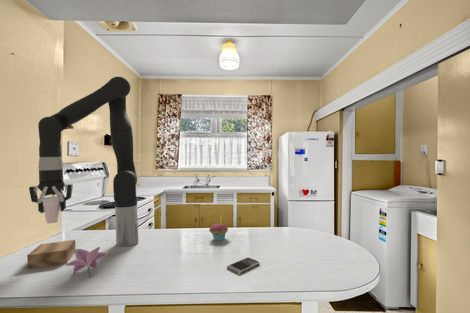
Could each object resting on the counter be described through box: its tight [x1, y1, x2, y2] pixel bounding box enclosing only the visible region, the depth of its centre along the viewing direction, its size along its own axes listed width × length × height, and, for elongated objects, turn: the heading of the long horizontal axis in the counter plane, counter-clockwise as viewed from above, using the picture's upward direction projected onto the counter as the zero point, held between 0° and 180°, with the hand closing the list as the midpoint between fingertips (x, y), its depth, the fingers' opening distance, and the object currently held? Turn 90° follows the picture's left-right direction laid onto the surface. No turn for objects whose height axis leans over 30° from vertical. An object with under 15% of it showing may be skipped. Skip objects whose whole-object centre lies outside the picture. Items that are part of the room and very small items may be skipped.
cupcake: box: [208, 214, 229, 242], centre depth 114 cm, size 9×8×12 cm
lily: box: [64, 246, 110, 279], centre depth 83 cm, size 12×12×10 cm
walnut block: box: [26, 239, 76, 270], centre depth 96 cm, size 12×12×5 cm
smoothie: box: [42, 195, 61, 224], centre depth 96 cm, size 6×6×14 cm
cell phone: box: [226, 257, 260, 275], centre depth 85 cm, size 6×11×1 cm, turn 132°
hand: (52, 211), depth 96 cm, fingers closed on smoothie, 6 cm apart
